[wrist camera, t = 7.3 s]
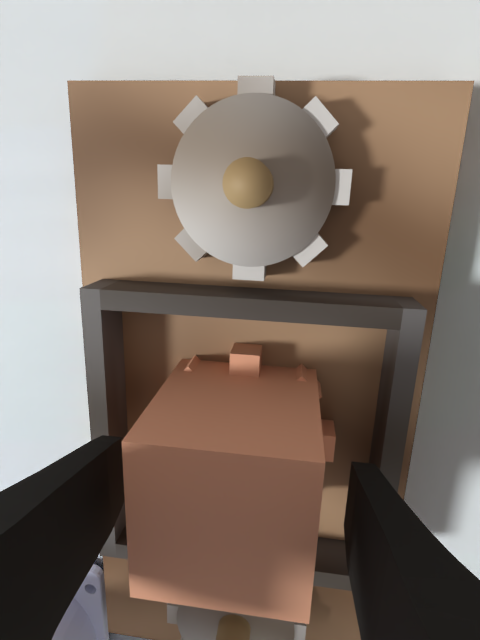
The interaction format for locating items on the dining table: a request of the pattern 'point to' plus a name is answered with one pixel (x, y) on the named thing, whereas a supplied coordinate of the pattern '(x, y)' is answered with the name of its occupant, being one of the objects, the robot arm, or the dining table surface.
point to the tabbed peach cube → (228, 487)
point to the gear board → (265, 276)
